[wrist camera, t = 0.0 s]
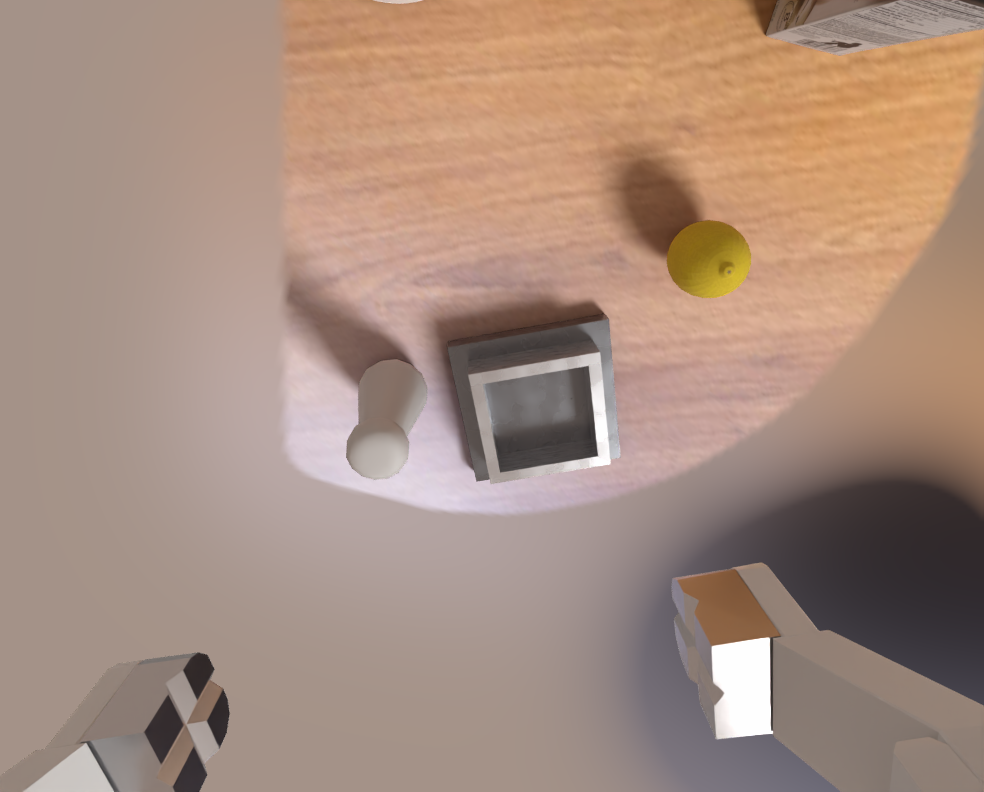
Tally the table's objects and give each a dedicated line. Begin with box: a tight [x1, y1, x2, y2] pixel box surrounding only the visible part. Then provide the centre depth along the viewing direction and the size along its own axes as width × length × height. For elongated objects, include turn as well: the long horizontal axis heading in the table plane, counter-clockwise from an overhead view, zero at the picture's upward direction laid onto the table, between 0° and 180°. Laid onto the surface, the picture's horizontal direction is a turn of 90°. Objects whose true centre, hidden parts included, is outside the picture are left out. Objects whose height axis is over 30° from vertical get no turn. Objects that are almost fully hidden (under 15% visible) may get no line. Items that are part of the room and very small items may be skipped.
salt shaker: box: [346, 359, 427, 480], centre depth 44 cm, size 6×6×13 cm
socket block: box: [447, 314, 620, 484], centre depth 49 cm, size 14×14×4 cm
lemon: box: [667, 220, 751, 298], centre depth 42 cm, size 6×6×8 cm
